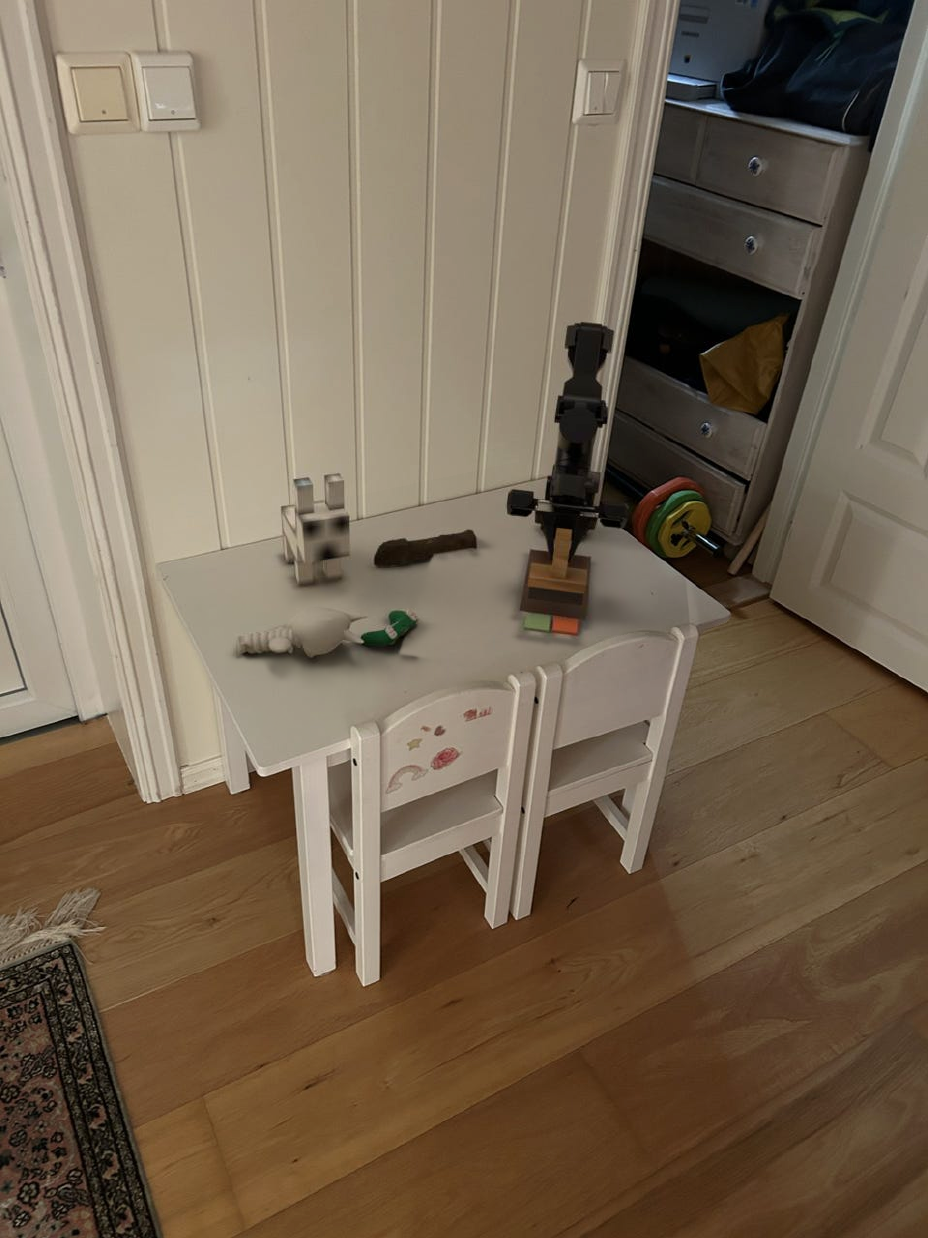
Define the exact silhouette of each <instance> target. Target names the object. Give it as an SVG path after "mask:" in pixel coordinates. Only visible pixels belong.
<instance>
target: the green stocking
mask: <svg viewBox="0 0 928 1238" xmlns="http://www.w3.org/2000/svg"><path fill="white" fill-rule="evenodd" d="M388 620H389V622H391V623H392V624H391V625H390V624H388V625H387V626H386V627H385V628H383V629H380V630H374V631H367V632H365V633H362V634H361V635H360V638H361V639H362V640H363V641H364V642H363V643H361V644H363V645H365V646H369V647H385V646H392V645H393V644H395V643H396V640H397V639H399V637H402V636H404V635H405V634H406V633H407V631H408V630H409V629H411V628H412V627H413V626H415V624H417V622H418V621H419V618H418V615H417V613H415V611H414V610H413V609H411V608H408V609H407V610H406V611H404V610H397V609H395V610H392V611H390V612H389V613H388Z"/></svg>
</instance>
